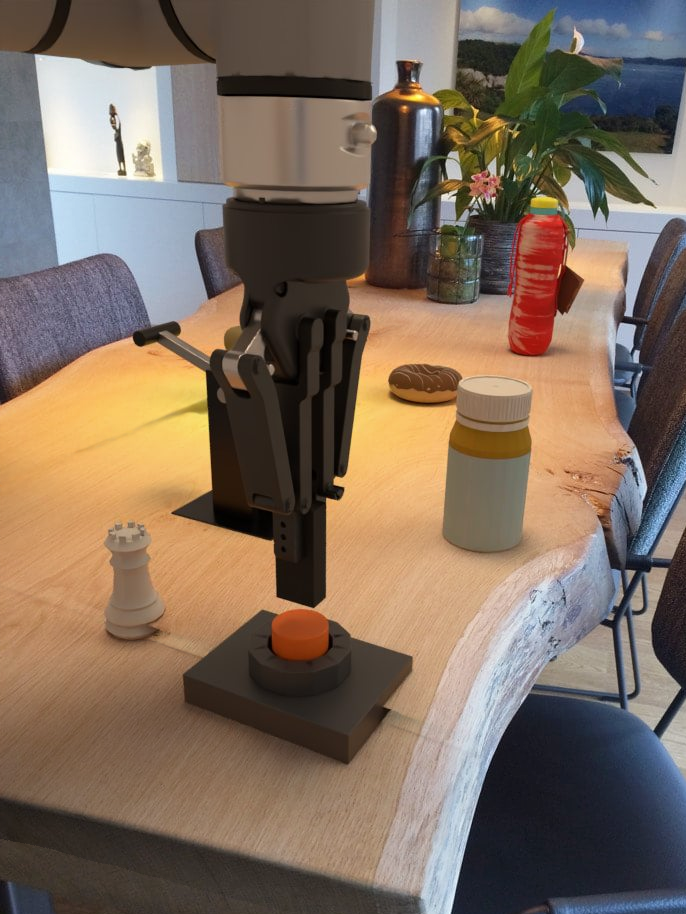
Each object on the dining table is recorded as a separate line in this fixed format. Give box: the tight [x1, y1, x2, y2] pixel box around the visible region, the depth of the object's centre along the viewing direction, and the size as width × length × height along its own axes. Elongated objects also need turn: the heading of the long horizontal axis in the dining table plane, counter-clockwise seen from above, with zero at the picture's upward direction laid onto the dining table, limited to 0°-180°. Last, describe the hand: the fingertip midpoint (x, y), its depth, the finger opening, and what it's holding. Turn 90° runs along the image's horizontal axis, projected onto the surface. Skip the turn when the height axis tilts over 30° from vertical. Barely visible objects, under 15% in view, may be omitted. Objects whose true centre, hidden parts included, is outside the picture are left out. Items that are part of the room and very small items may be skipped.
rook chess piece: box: [103, 520, 166, 641], centre depth 60 cm, size 4×4×8 cm
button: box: [272, 608, 329, 661], centre depth 53 cm, size 4×4×2 cm
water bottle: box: [506, 196, 585, 356], centre depth 137 cm, size 12×8×25 cm, turn 91°
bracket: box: [170, 368, 274, 542], centre depth 75 cm, size 11×9×15 cm
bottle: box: [441, 374, 534, 554], centre depth 72 cm, size 7×7×15 cm
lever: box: [132, 320, 210, 373], centre depth 74 cm, size 12×5×2 cm, turn 63°
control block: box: [182, 609, 414, 765], centre depth 54 cm, size 12×9×4 cm
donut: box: [387, 363, 463, 404], centre depth 116 cm, size 11×11×4 cm
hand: (301, 597), depth 51 cm, fingers closed
